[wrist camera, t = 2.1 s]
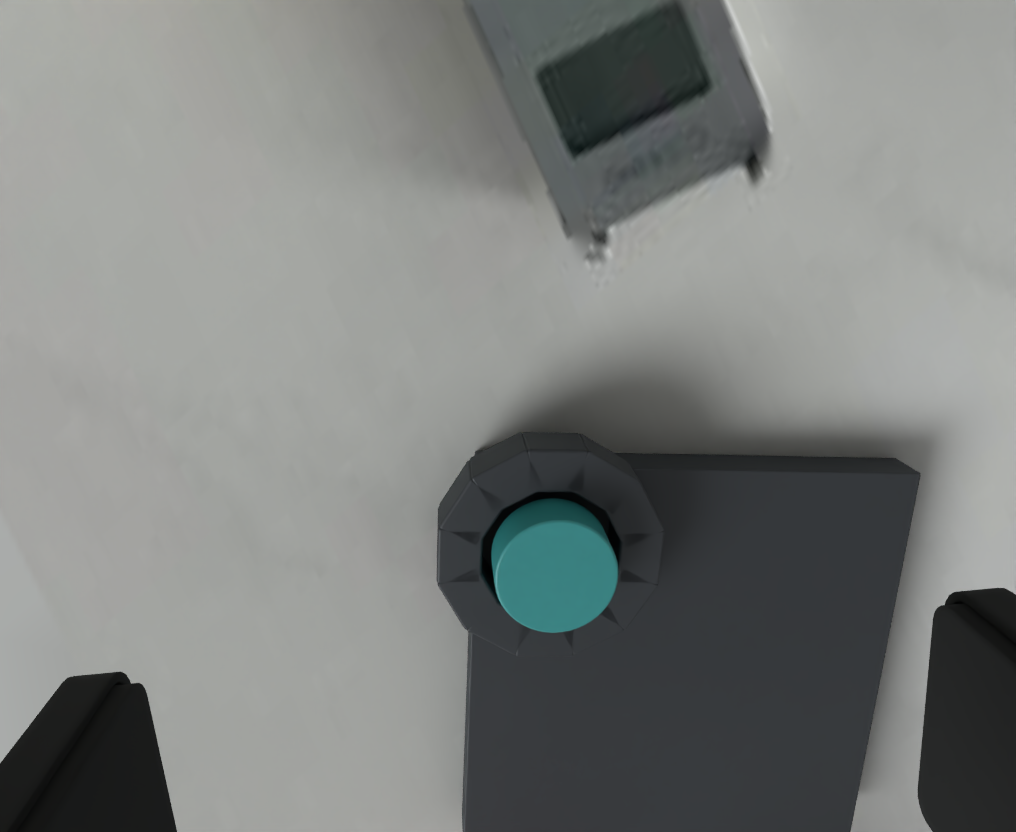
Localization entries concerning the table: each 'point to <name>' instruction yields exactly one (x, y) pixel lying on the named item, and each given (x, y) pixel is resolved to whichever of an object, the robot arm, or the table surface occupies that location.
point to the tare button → (553, 565)
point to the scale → (680, 640)
